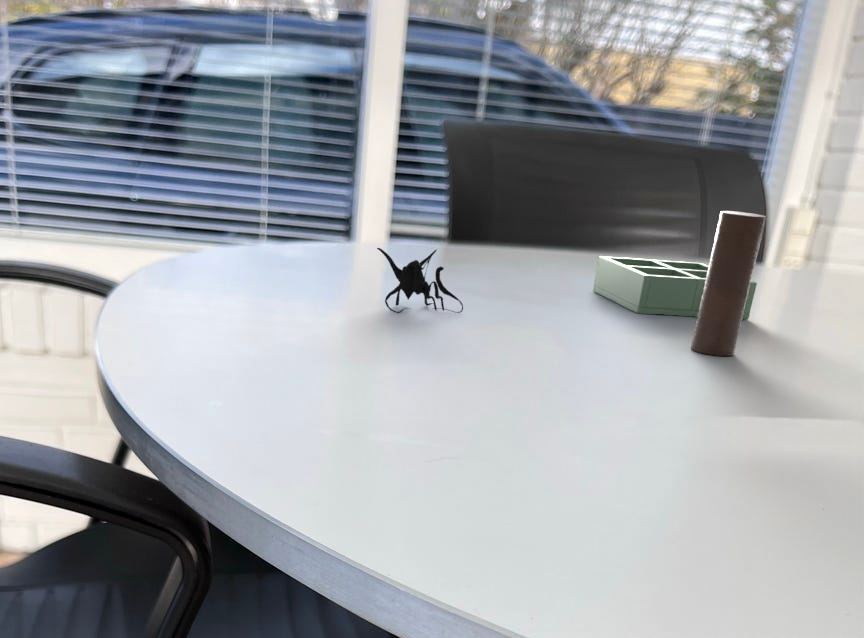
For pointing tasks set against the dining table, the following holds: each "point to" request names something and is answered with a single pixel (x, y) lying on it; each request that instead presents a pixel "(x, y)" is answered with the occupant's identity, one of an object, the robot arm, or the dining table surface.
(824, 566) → the dining table surface
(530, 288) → the dining table surface
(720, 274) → the brown cylinder
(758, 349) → the dining table surface
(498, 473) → the dining table surface
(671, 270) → the grid
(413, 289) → the creature
